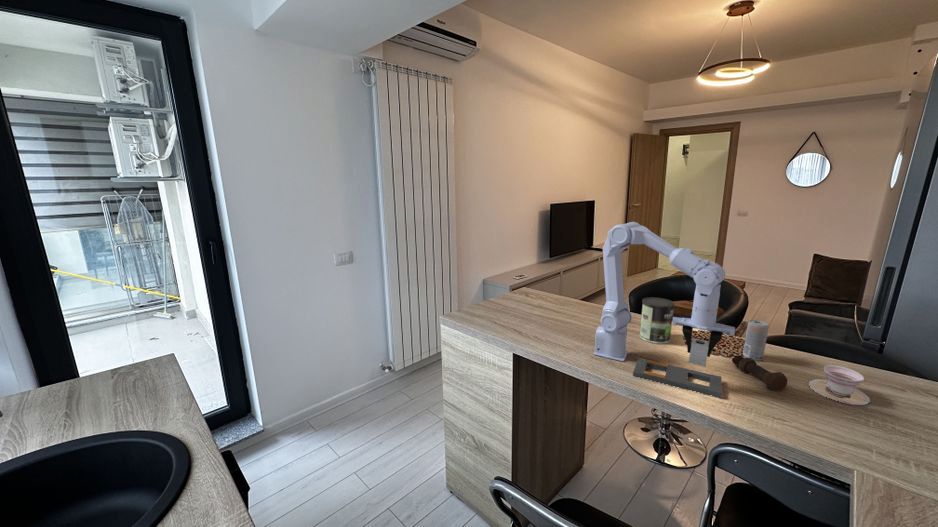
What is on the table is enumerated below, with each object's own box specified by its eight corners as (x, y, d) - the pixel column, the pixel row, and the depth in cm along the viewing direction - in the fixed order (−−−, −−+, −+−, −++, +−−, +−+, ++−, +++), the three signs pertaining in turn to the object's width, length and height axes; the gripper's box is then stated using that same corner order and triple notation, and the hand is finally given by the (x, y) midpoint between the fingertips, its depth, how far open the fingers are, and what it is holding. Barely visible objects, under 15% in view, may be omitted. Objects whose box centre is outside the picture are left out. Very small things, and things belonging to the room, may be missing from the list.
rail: (632, 376, 111) (633, 371, 110) (638, 362, 119) (638, 357, 119) (721, 398, 99) (722, 392, 99) (720, 381, 107) (721, 376, 107)
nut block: (688, 363, 105) (691, 343, 103) (689, 357, 108) (692, 337, 106) (705, 366, 102) (708, 346, 101) (705, 360, 106) (708, 340, 104)
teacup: (877, 411, 93) (883, 389, 92) (813, 397, 99) (818, 376, 98) (860, 388, 103) (866, 368, 102) (804, 377, 109) (808, 357, 108)
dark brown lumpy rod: (736, 369, 117) (779, 395, 102) (724, 363, 116) (766, 388, 102) (747, 354, 116) (792, 378, 102) (735, 347, 116) (778, 370, 101)
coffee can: (674, 338, 136) (679, 301, 133) (663, 346, 129) (667, 308, 126) (646, 329, 143) (649, 295, 140) (633, 337, 137) (637, 301, 134)
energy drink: (760, 355, 122) (766, 321, 120) (765, 362, 118) (771, 327, 115) (740, 352, 125) (746, 318, 122) (744, 359, 120) (750, 324, 117)
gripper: (673, 307, 102) (668, 352, 105) (738, 317, 94) (730, 366, 97) (675, 300, 108) (670, 343, 111) (736, 309, 100) (729, 355, 103)
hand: (698, 353), depth 105 cm, fingers closed on nut block, 4 cm apart
